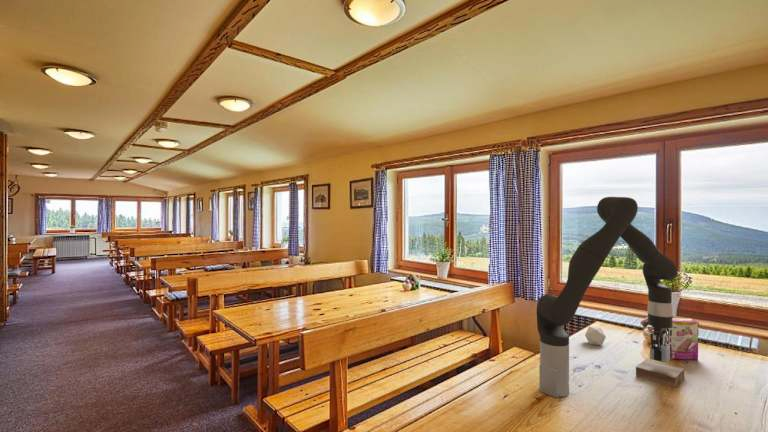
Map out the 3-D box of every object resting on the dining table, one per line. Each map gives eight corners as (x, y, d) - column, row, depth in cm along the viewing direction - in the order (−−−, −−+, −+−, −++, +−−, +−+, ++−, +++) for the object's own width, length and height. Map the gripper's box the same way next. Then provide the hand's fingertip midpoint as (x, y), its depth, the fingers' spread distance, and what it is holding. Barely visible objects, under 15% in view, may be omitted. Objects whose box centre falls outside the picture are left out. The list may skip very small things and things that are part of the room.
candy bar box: (670, 359, 154) (670, 320, 154) (662, 355, 159) (662, 317, 159) (699, 360, 153) (699, 321, 153) (690, 356, 158) (690, 318, 158)
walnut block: (675, 389, 129) (675, 377, 129) (635, 377, 139) (635, 366, 139) (684, 379, 137) (684, 368, 137) (646, 368, 146) (646, 358, 146)
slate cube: (666, 363, 134) (666, 349, 134) (650, 359, 138) (649, 345, 138) (670, 359, 137) (670, 346, 137) (654, 355, 141) (654, 342, 141)
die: (599, 350, 167) (611, 332, 168) (581, 337, 172) (592, 320, 172) (597, 350, 174) (609, 334, 175) (580, 338, 179) (591, 322, 179)
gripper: (666, 319, 130) (666, 366, 130) (677, 312, 139) (677, 356, 139) (641, 314, 136) (641, 360, 136) (653, 308, 145) (654, 350, 145)
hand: (660, 358), depth 138 cm, fingers closed on slate cube, 5 cm apart
